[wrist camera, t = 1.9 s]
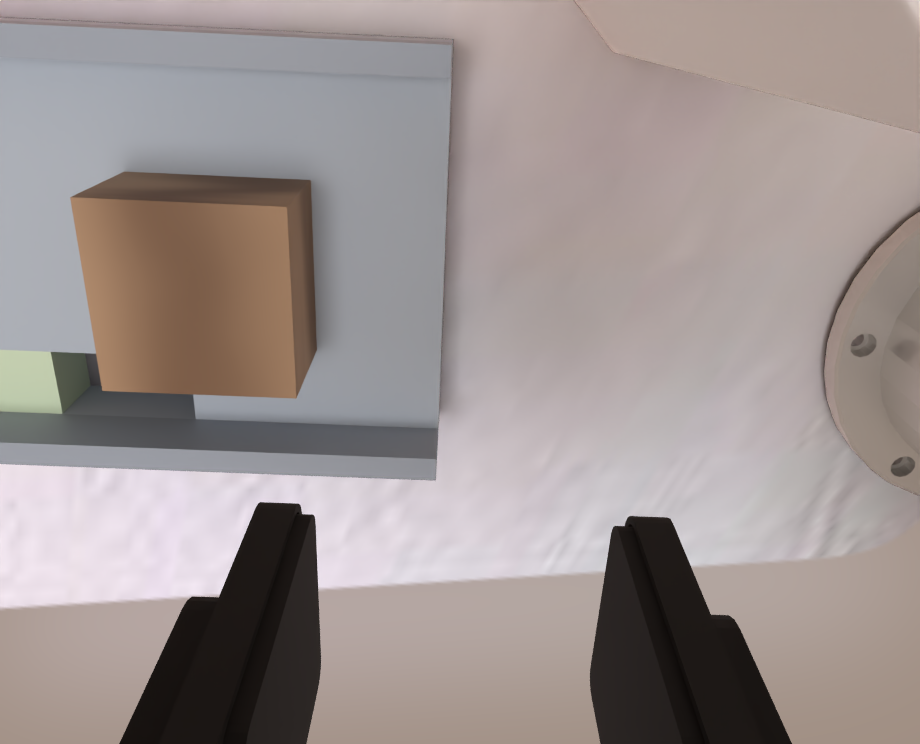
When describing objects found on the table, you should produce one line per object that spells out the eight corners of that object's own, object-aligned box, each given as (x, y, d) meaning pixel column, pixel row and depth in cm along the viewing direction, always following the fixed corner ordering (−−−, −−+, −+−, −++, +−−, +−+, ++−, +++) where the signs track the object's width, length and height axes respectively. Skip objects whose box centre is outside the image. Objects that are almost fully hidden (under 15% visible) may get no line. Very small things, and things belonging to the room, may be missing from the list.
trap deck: (453, 39, 24) (452, 44, 20) (438, 414, 29) (435, 480, 25) (-297, 2, 23) (-458, 0, 19) (-168, 390, 29) (-272, 453, 25)
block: (310, 180, 23) (287, 207, 20) (317, 350, 25) (296, 398, 22) (124, 171, 23) (70, 197, 20) (147, 343, 25) (102, 390, 22)
